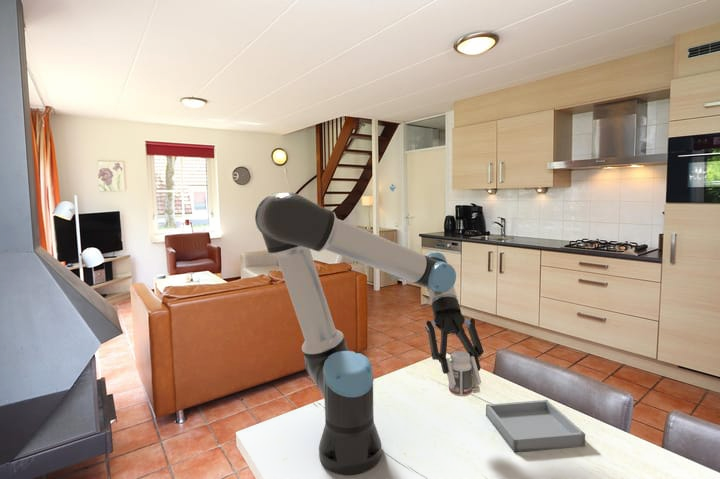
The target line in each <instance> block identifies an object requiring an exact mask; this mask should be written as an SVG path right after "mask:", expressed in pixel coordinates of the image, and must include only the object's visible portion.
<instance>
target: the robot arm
mask: <svg viewBox="0 0 720 479" xmlns="http://www.w3.org/2000/svg"><path fill="white" fill-rule="evenodd" d="M254 218H255V225H256V228H257V229H258V230H259V232H260V233H261V235H262V238H263V241H264V243H265V246H266V248H267V252H268V254H269V255H271V256H273V257H275V258H276V259H277V262H278V265H279V268H280V271H281V274H282V277H283V280H284V283H285V286H286V289H287V291H288V294H289V298H290V301H291V303H292V306H293V309H294V312H295V315H296V318H297V321H298V325H299V327H300V330H301V333H302V335H303V339H304V342H303V343H302V345H301V351H302V354H303V356H304V357H303V358H304V364H305V366H304V367H305V370H306V372H307V374H308V376H309V377H310V378H311V379H312V380H313V382H314V384H315V386H316V387H317V388H318V389H319V391H320V393H321V394H322V396H323V398H324V399H323V400H324V418H325V424H324V428H323V431H322V435H321V437H320V440H319V443H318V457H319V460H320V463H321V464H322V465H323V466H324V467H325V468H326V469H327V470H328V471H331V472H333V473H335V474H340V475H356V474H357V475H358V474H362V473H365V472H367V471H369V470H371V469H373V468H374V467H375V466H377V465H378V463H379V462H380V460H381V457H382V454H383V452H382V450H383V449H382V441H381V438H380V435H379V432H378V430H377V427H376V424H375V420H374V417H375V416H374V380H375V379H374V371H373V366H372V362H371V361H370V360H369V358H368V357H367V356H365V355H364V354H362V353H359V352H358V353H357V352H355V351H353V350H349V348H348V344H347V341H346V338H345V336H344V335H345V334H344V333H343V332H342V331H341V330H338V329H336V327H335V322H334V321H333V317H332V314H331V311H330V307H329V304H328V302H327V298H326V295H325V293H324V289H323V286H322V282H321V279H320V277H319V274H318V270H317V267H316V264H315V262H314V257H313V255H312V252H311V250H312V251H316V252H321V251H324V250H326V251H328V252H330V253H334V254H336V255H338V256H339V255H340V256H342V257H345V258H347V259H349V260H352V261H354V262H357V263H361V264H363V265H365V266H368V267H371V268H374V269H376V270H379V271H382V272H384V273H387V274H389V276H391V277H392V278H395V279H397V280H404V281H407V282H411V283H413V284H416V285H417V286H421V287H424V288H426V289H427V292H428V297H429V300H430V304H431V310H432V314H433V317H434V318H433V320H432V321H430V320H426V323H425V325H424V328H425V330H426V332H427V333H428V341H429V346H430V353H431V358H432V360H433V361H436V360H437V361H438V362H439V363H440V366H441V371H442V372H443V374H444V375H445V374H446V376H447V380H448V381H447V382H448V386H449V385H450V388H453V387H454V386H455V385H456V383H455V379H454V374H453V370H452V366H451V362H450V361H451V358H450V357H447V346H448V335H451V334H453V335H456V338H458V339H459V341H460V343H461V344H462V346H463V347H464V349H465V352H467V353H469V355H470V360H469V362H470V363H471V365H472V376H473V380H474V383H475V387H479V386H480V385H481V384H482V379H481V376H480V370H481V369H482V368H481V367H482V366H481V364H480V359H479V358H480V357H481V356H482V355H483V354H484V353H485V351H484V349H483V348H484V347H483V345H482V343H481V339H480V337H479V335H478V331H477V329H476V319H474V318H470V319H467V318H465V316H463V314H462V310H461V306H460V303H459V300H458V296H457V292H456V289H455V283H456V280H457V273H456V269H455V268H454V267H453V266H452V264H450V263H448V260H447V259H446V256H445V255H444V254H443V253H441V252H438V251H436V252H429V253H426V254H425V255H424V254H422V253H421V252H418V251H415V250H414V249H411V248H408V247H406V246H404V245H401V244H399V243H396V242H394V241H392V240H389V239H387V238H384V237H382V236H380V235H377V234H376V233H372V231H368V230H365V229H363V228H360V227H358V226H356V225H354V224H351V223H349V222H346V221H344V220H342V219H339V218H337V216H336V213H335V212H334V211H331V210H330V209H328V208H325V207H323V206H321V205H319V204H317V203H315V202H313V201H311V200H310V199H308V198H306V197H304V196H302V195H300V194H298V193H294V192H278V193H272V194H271V195H268V196H266V197H265V198H263V199H262V200H261V201H260V203H259V204H258V206H257V207H256V210H255V215H254ZM463 325H465V327H466V328H467V331H468V334H469V337H470V339H469V337H468V335H467V333H466V331H465V328H464V327H463ZM435 328H437V329H438V330H440V345H439V346H440V347H439V348H438V343H437V336H436V331H435ZM470 340H471V341H470Z"/></svg>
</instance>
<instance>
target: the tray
mask: <svg viewBox="0 0 720 479" xmlns="http://www.w3.org/2000/svg"><path fill="white" fill-rule="evenodd" d="M485 416H486V418H487V419H488V420H489V421H490V423H491V424H492V426H493V427H494V428H495V429H496V431H497V432H498V433H499V435H500V436H501V437H502V438H503V440H504V441H505V443H506V444H507V445H508V447H510V449H511V450H512V451H513V453H514V454H516V453H525V452H537V451H547V450H548V451H549V450H559V449H569V448H577V447H578V448H580V447H586V433H585V432H584V431H583V430H581V429H580V428H579V427H578V425H576V424H575V423H574V422H572V420H570V418H568V417H567V416H566V415H565V414H563V413H562V412H561V410H559V409H558V408H557V407H556V406H554V405H553V404H552V403H551V402H550V401H549V400H548V399H542V400H541V399H540V400H531V401H530V400H529V401H515V402H514V401H513V402H503V403H501V402H500V403H490V404H486V405H485Z"/></svg>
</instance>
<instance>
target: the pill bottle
mask: <svg viewBox="0 0 720 479" xmlns="http://www.w3.org/2000/svg"><path fill="white" fill-rule="evenodd" d="M449 358H450V362H451V366H452V370H453V374H454V379H455V383H456V385H455V386H454V387H453V388H450V385H449V384H448V390H449V393H451V394H452V395H454V396H456V397H468V396H470V395H471V394H472V392H473V391H472V390H473V388H472V365H471V363H470V362H469V360H470V355H469V353H467V351H466V350H465V351H464V350H453V351H451V352H450V357H449Z"/></svg>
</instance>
